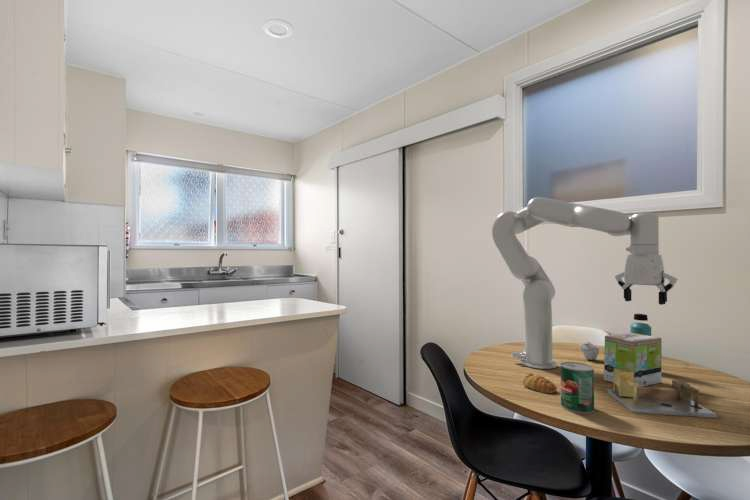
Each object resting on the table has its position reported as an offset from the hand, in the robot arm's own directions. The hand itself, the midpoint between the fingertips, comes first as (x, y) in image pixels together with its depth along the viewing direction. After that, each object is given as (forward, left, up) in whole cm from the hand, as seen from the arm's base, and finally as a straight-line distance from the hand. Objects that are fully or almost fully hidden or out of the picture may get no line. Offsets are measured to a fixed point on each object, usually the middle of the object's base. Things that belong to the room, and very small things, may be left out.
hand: (644, 302), depth 121 cm
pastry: (-36, -13, -26) cm, 47 cm away
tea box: (-5, -2, -26) cm, 26 cm away
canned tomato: (-31, -28, -26) cm, 49 cm away
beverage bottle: (+5, +13, -26) cm, 29 cm away
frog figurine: (-8, +24, -26) cm, 36 cm away
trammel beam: (-8, -21, -24) cm, 33 cm away
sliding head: (-15, -21, -24) cm, 35 cm away
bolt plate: (-8, -22, -25) cm, 34 cm away
